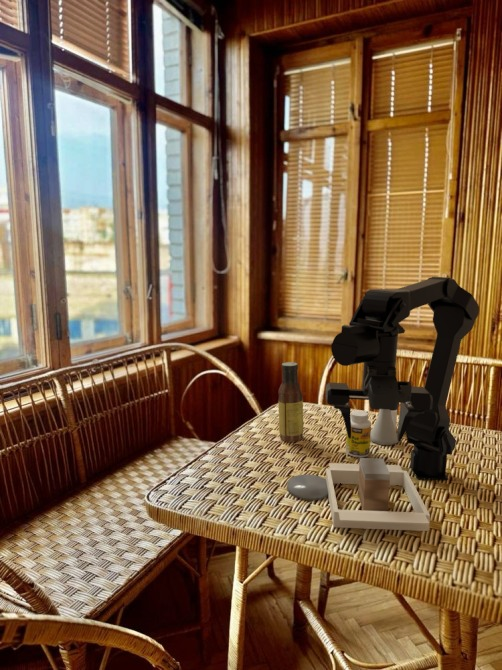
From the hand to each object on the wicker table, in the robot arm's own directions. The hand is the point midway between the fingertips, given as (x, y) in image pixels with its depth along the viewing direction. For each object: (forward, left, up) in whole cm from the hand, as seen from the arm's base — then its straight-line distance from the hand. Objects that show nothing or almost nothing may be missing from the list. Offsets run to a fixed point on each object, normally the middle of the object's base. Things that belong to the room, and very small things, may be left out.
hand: (374, 439), depth 90 cm
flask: (-9, -31, -14) cm, 35 cm away
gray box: (0, 0, -13) cm, 13 cm away
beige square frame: (0, 0, -13) cm, 13 cm away
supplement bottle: (-1, -22, -14) cm, 26 cm away
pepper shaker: (-11, -38, -14) cm, 42 cm away
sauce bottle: (+15, -30, -13) cm, 37 cm away
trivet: (+12, -5, -13) cm, 18 cm away
